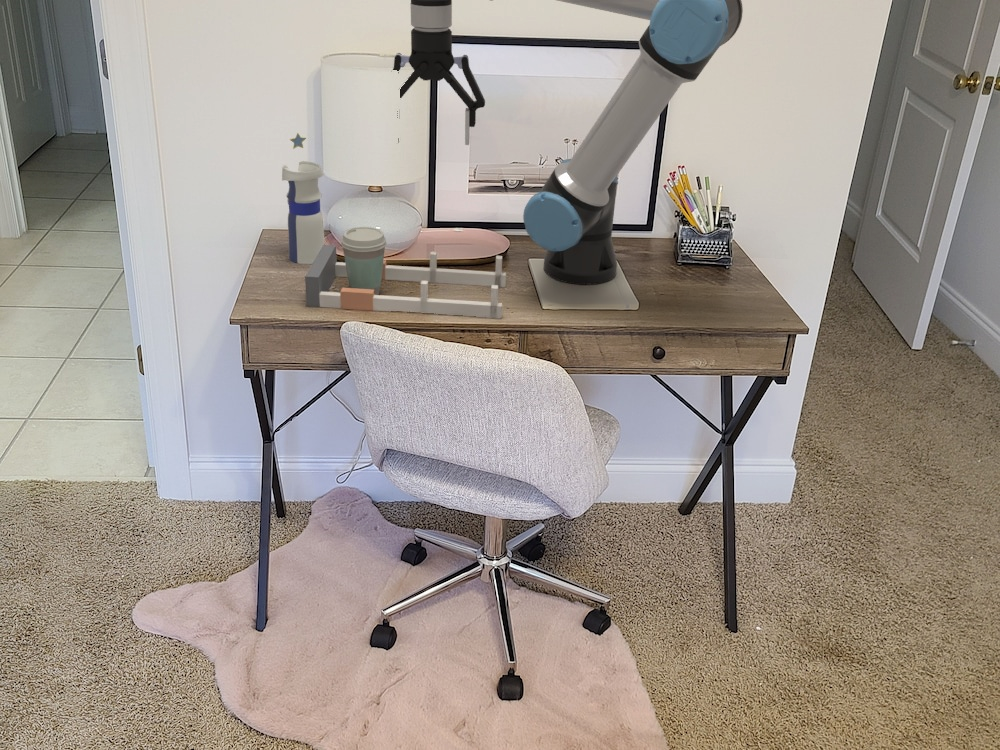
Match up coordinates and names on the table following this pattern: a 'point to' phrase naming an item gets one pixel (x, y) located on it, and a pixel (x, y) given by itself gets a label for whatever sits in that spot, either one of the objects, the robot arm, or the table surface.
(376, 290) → the coffee cup
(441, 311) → the comb channel
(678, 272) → the table surface
